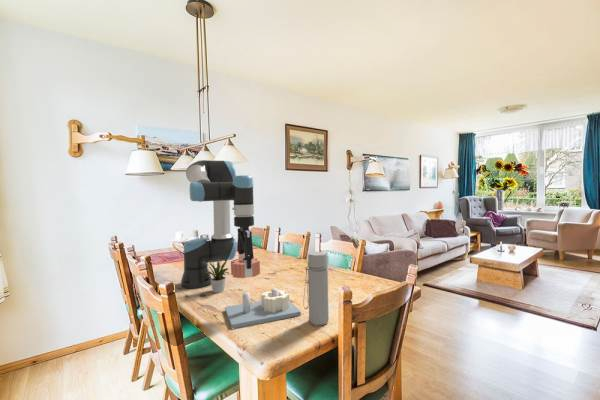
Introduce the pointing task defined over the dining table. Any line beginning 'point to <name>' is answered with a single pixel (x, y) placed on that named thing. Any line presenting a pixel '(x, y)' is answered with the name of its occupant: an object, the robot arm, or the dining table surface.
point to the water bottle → (317, 288)
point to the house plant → (218, 277)
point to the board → (262, 309)
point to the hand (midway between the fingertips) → (245, 273)
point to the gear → (239, 268)
